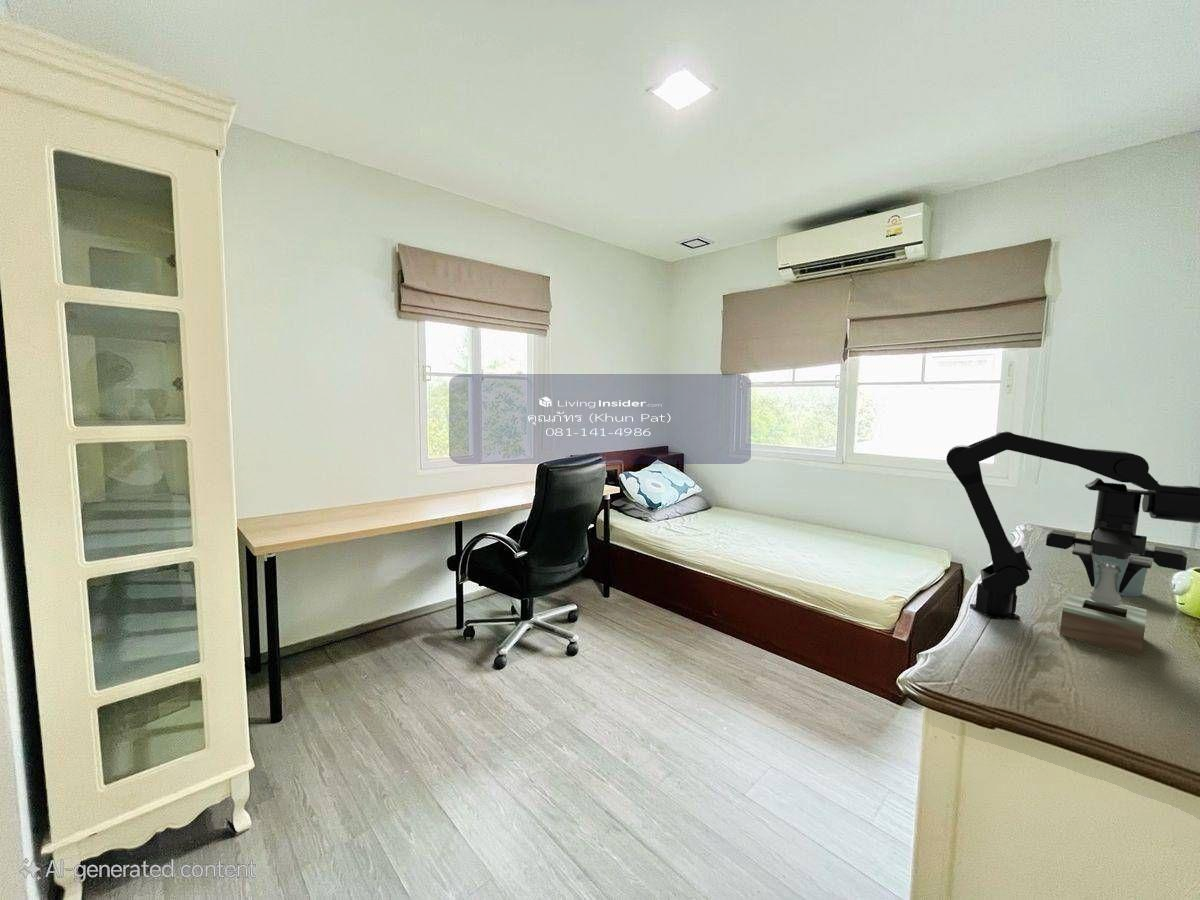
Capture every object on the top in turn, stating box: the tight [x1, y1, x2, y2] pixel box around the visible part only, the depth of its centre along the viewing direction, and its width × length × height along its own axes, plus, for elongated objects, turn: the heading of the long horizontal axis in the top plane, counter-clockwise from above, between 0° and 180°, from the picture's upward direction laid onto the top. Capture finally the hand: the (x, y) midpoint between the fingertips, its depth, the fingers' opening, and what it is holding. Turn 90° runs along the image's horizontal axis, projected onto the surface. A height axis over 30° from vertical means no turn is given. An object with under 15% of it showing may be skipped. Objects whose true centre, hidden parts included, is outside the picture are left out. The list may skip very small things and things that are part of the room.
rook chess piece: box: [1088, 562, 1122, 606], centre depth 94 cm, size 4×4×8 cm
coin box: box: [1059, 592, 1147, 658], centre depth 95 cm, size 12×11×6 cm
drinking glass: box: [1094, 546, 1153, 597], centre depth 120 cm, size 10×10×12 cm
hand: (1106, 589), depth 95 cm, fingers closed on rook chess piece, 3 cm apart
